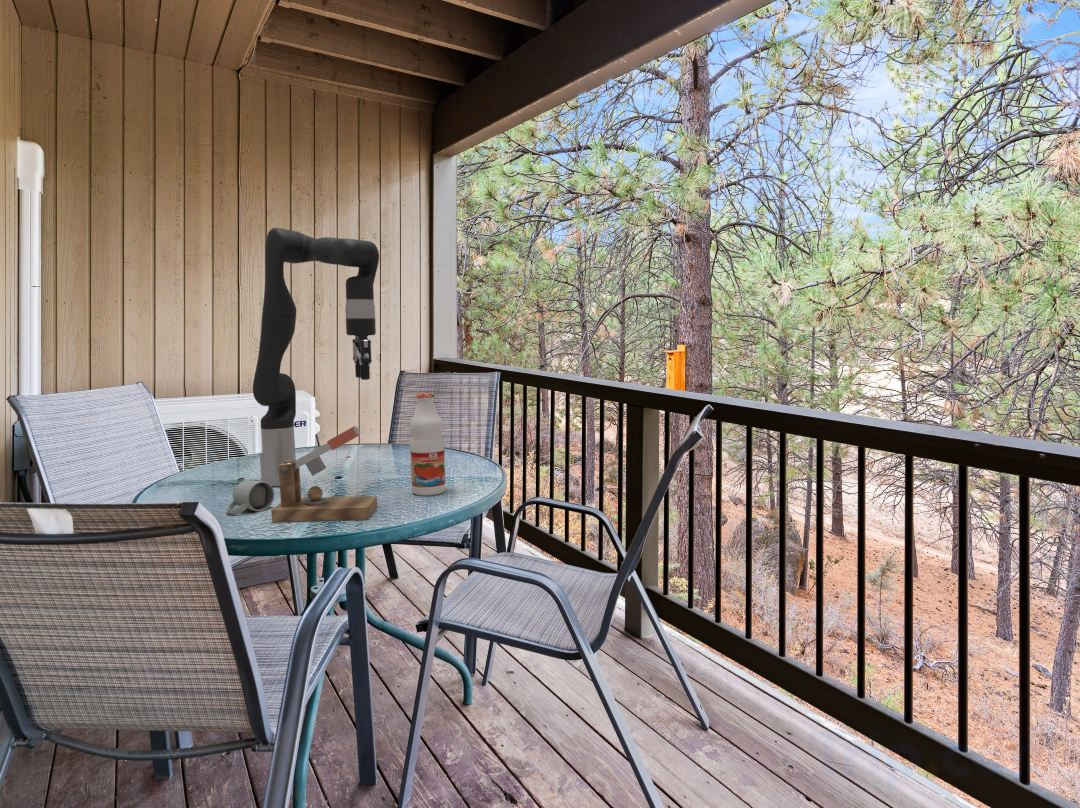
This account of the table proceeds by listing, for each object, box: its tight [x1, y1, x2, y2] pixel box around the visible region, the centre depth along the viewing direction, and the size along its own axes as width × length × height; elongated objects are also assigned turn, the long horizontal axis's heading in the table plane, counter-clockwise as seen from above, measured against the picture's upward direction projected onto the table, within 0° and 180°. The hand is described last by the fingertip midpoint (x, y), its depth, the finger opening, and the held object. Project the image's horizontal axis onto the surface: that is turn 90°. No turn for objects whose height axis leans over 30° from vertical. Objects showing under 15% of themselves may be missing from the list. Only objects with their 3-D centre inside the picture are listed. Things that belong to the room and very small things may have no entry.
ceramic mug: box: [225, 480, 275, 516], centre depth 171 cm, size 11×8×8 cm
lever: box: [286, 425, 361, 477], centre depth 164 cm, size 21×3×6 cm, turn 92°
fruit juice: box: [409, 392, 446, 497], centre depth 186 cm, size 9×9×28 cm
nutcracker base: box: [270, 459, 378, 523], centre depth 165 cm, size 23×11×14 cm, turn 92°
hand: (362, 378), depth 177 cm, fingers open, 8 cm apart
